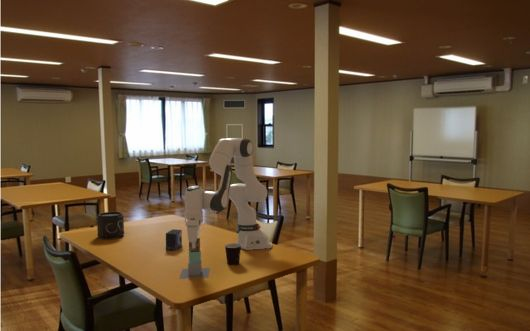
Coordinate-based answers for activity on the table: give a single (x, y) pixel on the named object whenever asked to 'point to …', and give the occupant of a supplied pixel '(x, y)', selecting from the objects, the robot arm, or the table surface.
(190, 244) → the walnut block
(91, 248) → the table surface
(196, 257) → the teal block
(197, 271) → the slate block
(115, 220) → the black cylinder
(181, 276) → the mat
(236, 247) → the coffee mug
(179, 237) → the small box
